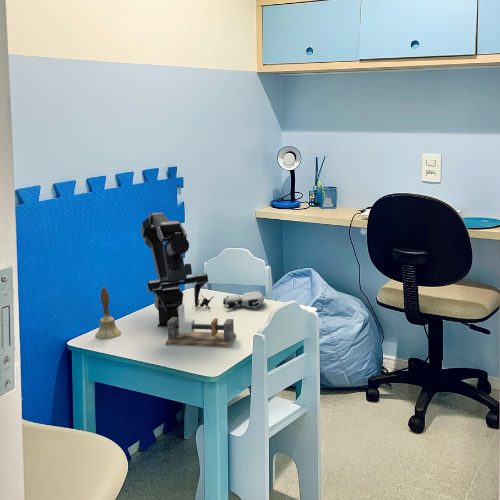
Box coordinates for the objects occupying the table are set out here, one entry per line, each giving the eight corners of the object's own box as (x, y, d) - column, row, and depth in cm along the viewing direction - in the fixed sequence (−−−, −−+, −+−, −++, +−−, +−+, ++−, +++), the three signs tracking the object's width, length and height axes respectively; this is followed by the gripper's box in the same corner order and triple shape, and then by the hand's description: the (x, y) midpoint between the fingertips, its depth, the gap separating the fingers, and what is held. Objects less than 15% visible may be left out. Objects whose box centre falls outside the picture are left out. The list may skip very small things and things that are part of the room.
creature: (206, 316, 230) (218, 306, 236) (203, 303, 228) (215, 293, 234) (188, 313, 235) (201, 303, 241) (185, 300, 232) (198, 290, 238)
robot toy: (224, 315, 231) (266, 309, 232) (223, 302, 230) (264, 297, 231) (223, 305, 243) (262, 300, 244) (221, 293, 242) (261, 288, 243)
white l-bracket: (179, 333, 202) (177, 307, 200) (182, 329, 205) (181, 304, 204) (191, 333, 201) (190, 308, 199) (194, 329, 205) (193, 304, 203)
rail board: (165, 344, 200) (164, 324, 199) (175, 333, 210) (174, 314, 208) (228, 347, 196) (227, 326, 195) (235, 336, 206) (235, 316, 204)
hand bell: (113, 339, 206) (109, 291, 203) (90, 338, 209) (86, 290, 205) (125, 331, 214) (122, 284, 211) (103, 329, 216) (99, 283, 213)
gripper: (144, 260, 194) (151, 311, 191) (206, 251, 197) (214, 302, 195) (144, 266, 204) (151, 315, 202) (202, 258, 208) (210, 306, 205)
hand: (181, 309), depth 201 cm, fingers open, 9 cm apart
